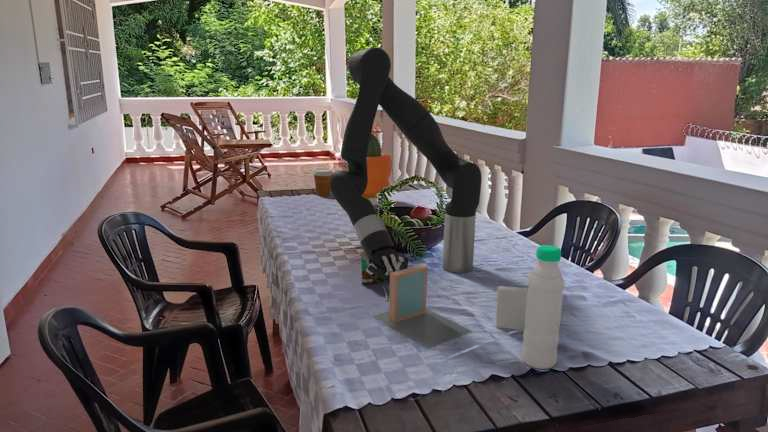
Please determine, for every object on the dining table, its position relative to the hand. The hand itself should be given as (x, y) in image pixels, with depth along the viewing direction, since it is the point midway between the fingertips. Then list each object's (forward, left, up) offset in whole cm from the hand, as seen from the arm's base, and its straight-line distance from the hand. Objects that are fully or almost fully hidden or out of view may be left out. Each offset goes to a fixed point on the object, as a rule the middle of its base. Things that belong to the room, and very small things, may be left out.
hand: (402, 296), depth 137 cm
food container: (-18, -17, -5) cm, 25 cm away
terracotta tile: (+1, +2, -4) cm, 5 cm away
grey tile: (-6, +26, -5) cm, 27 cm away
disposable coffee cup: (-105, -93, -5) cm, 140 cm away
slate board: (+3, +7, -5) cm, 9 cm away
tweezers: (-12, -11, -6) cm, 17 cm away
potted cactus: (-103, -66, -5) cm, 122 cm away
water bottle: (+7, +35, -5) cm, 36 cm away
